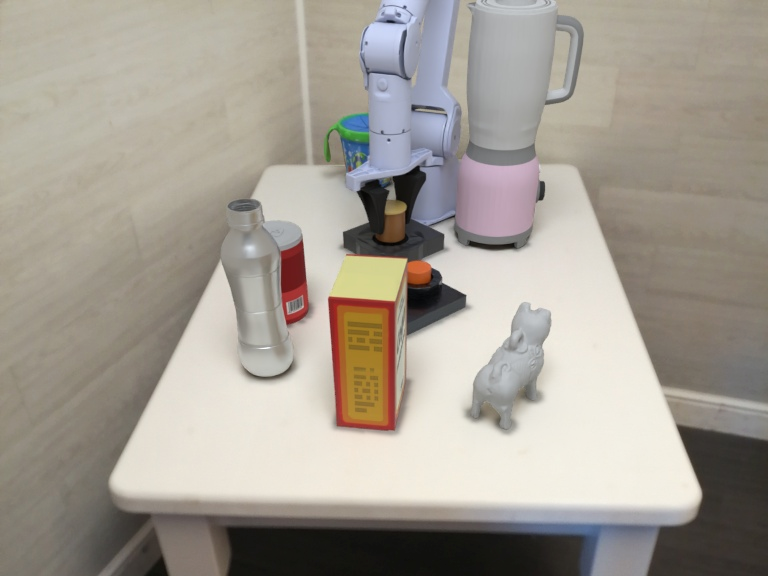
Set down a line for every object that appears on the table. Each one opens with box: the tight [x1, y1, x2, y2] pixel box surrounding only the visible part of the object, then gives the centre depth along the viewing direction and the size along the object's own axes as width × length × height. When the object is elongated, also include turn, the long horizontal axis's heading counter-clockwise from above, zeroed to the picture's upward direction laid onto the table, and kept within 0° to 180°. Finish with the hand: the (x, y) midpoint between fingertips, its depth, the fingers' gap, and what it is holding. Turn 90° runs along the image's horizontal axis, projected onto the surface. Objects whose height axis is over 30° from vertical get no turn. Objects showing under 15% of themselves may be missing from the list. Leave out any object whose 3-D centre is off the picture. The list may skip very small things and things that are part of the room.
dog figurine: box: [470, 301, 552, 430], centre depth 80 cm, size 5×13×11 cm, turn 147°
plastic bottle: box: [219, 197, 295, 378], centre depth 82 cm, size 6×7×20 cm
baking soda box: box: [327, 253, 408, 432], centre depth 78 cm, size 10×6×16 cm
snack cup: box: [323, 112, 392, 188], centre depth 126 cm, size 16×10×10 cm
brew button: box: [407, 260, 432, 284], centre depth 97 cm, size 4×4×2 cm
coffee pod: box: [376, 199, 407, 243], centre depth 107 cm, size 5×5×4 cm
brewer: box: [407, 266, 467, 337], centre depth 98 cm, size 11×10×4 cm
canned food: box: [263, 220, 310, 326], centre depth 94 cm, size 8×8×11 cm
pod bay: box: [342, 219, 445, 263], centre depth 110 cm, size 12×12×2 cm
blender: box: [453, 0, 585, 249], centre depth 103 cm, size 16×12×32 cm
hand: (390, 226), depth 107 cm, fingers closed on coffee pod, 5 cm apart
